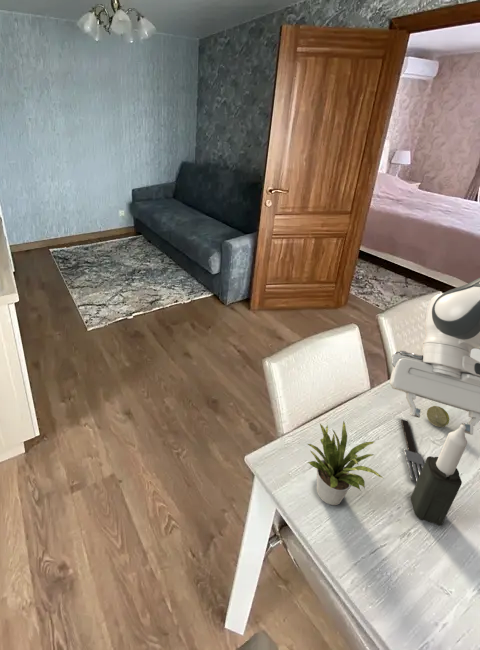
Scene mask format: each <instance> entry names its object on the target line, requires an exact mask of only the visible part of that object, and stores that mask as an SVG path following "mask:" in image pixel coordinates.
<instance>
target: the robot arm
mask: <svg viewBox="0 0 480 650" xmlns="http://www.w3.org/2000/svg"><path fill="white" fill-rule="evenodd" d="M424 331H425V338H424V340H423V342H422V348H421V349H422V351H421V354H417V353H414V352H413V353H412V352H408V351H405V350H399V351H395V352H394V353H392V356H391V365H392V370H391V374H390V378H389V385H390V387H391V388H392V389H393V390H396V391H399V392H402V393H405V394H406V395H405V399H406V401H407V403H408V405H409V407H410V411H409V415H410V416H412V417H415V418H421V409H420V408H417V406H416V403H415V401H414V400H416V399H417V397H419V398H422V399H426V400H429V401H432V402H435V403H439V404H442V405H445V406H448V407H453V408H456V409H459V410H463V411H466V412H468V417H469V418H470V419H469V420H468V421H467V423H464V422H461V425H464V426H465V427H466V429H465V434H467V435H470V436H473V435H474V427H475V426H476V425H477V424H478V423H479V422H480V361H479V360H476V359H475V358H473V357H471V352H472V350H473V349H476V350H480V276H479V277H478V278H476V279H474V280H472V281H470V282H469V283H466V284H464V285H461V286H458V287H455V288H452V289H449V290H447V291H445V292H441V293H438V294H435V295H433V296H432V297H431V299H430V300H429V302H428V304H427V308H426V313H425V319H424Z"/></svg>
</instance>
